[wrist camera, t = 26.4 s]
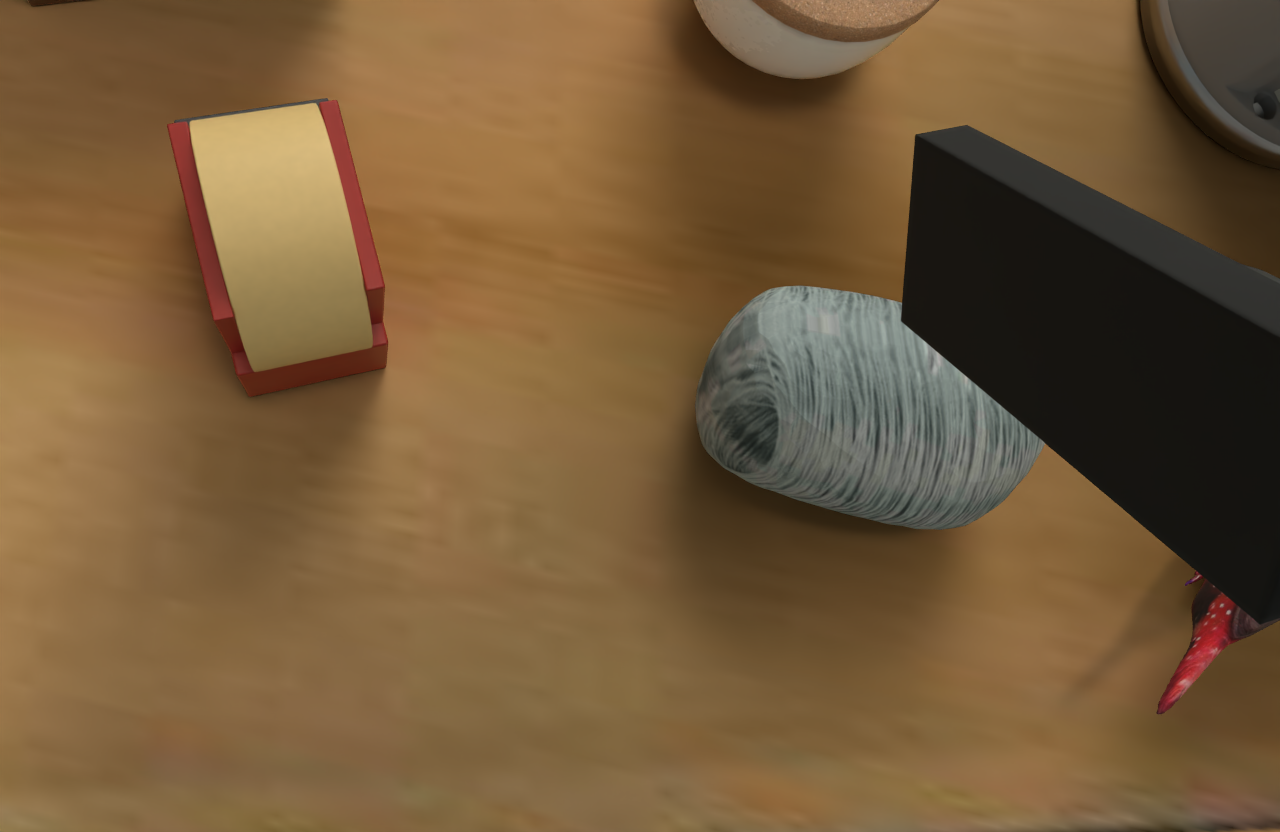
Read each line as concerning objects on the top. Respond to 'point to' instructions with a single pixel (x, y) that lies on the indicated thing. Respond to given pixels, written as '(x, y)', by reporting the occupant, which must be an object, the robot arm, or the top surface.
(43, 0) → the shelf
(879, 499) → the spool
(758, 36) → the trinket box
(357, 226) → the tape dispenser
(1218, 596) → the decorative bird figurine
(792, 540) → the top surface
